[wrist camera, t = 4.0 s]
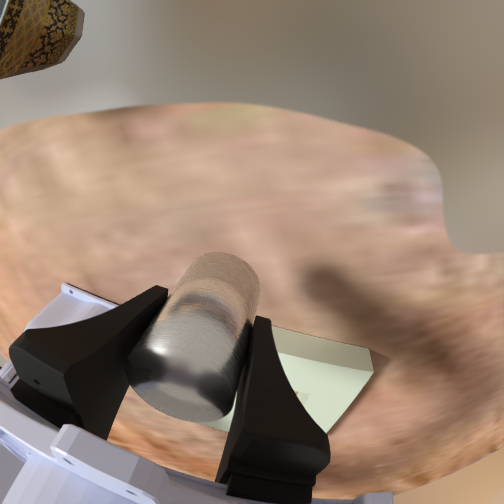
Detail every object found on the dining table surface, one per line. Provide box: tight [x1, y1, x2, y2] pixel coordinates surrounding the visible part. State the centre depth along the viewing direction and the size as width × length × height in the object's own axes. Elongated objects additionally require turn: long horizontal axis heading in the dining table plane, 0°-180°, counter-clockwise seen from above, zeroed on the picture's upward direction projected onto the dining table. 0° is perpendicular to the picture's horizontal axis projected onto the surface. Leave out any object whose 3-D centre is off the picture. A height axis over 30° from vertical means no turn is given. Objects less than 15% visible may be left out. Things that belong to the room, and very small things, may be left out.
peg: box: [125, 252, 261, 422], centre depth 12 cm, size 4×4×7 cm
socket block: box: [195, 326, 374, 433], centre depth 26 cm, size 14×14×3 cm
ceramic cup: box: [0, 0, 85, 79], centre depth 12 cm, size 13×10×10 cm
